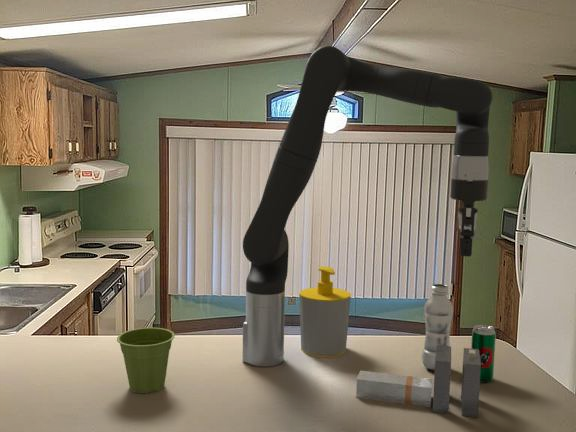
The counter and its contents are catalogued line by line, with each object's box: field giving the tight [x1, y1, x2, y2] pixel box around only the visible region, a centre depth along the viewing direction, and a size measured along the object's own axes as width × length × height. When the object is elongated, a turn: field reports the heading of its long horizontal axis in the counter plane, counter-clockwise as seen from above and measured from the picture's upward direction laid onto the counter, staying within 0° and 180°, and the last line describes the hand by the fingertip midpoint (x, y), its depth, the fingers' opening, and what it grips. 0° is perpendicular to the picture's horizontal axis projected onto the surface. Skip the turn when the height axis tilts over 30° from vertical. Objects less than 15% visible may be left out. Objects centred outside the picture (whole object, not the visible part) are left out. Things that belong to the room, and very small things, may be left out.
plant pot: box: [116, 327, 176, 394], centre depth 127 cm, size 12×12×11 cm
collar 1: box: [432, 345, 452, 414], centre depth 122 cm, size 3×9×10 cm, turn 165°
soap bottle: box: [298, 266, 352, 358], centre depth 152 cm, size 13×13×21 cm
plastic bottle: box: [421, 283, 454, 371], centre depth 140 cm, size 6×7×20 cm
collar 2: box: [460, 347, 481, 418], centre depth 121 cm, size 3×9×12 cm, turn 165°
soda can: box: [470, 324, 497, 383], centre depth 135 cm, size 5×5×12 cm
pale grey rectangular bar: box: [355, 369, 433, 408], centre depth 125 cm, size 15×5×4 cm, turn 75°
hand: (465, 252), depth 130 cm, fingers open, 8 cm apart
